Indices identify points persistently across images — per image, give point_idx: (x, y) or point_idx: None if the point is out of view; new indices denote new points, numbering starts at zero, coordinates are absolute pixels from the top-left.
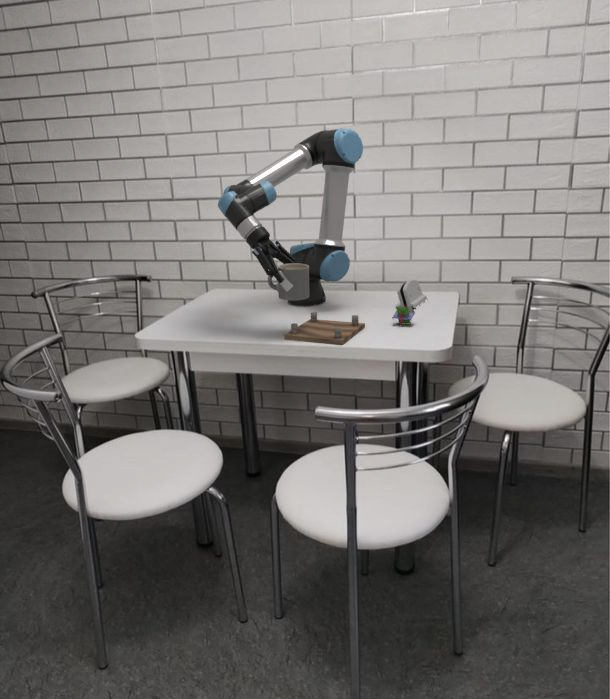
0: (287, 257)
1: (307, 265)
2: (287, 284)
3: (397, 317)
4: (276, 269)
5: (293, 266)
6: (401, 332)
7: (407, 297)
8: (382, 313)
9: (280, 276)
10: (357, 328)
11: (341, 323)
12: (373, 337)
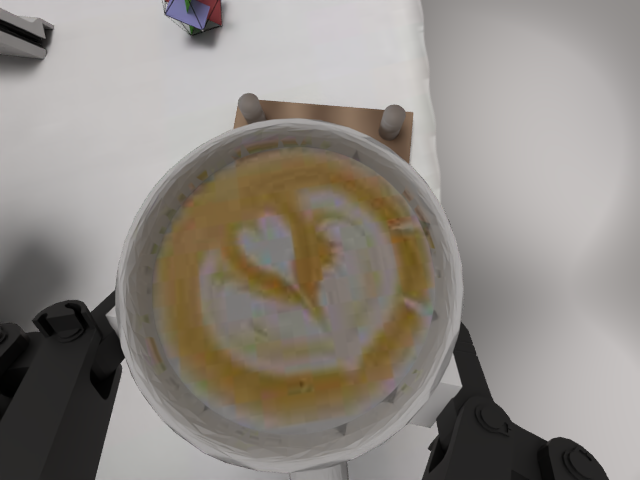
0: (5, 461)
1: (205, 151)
2: None
3: (200, 15)
4: (501, 422)
5: (154, 323)
6: (275, 14)
7: (6, 13)
8: (95, 96)
9: (455, 351)
10: (294, 104)
11: None
12: (329, 65)
